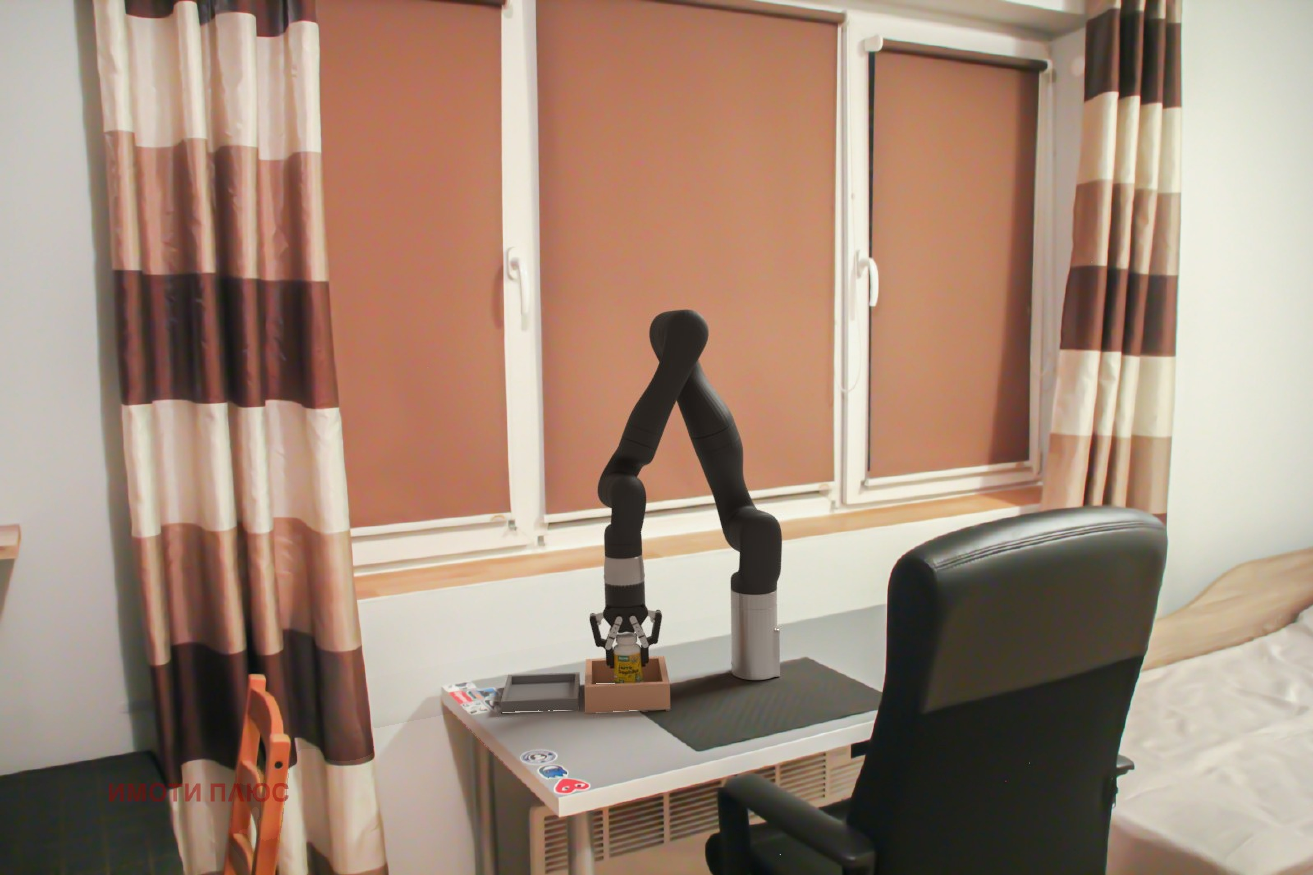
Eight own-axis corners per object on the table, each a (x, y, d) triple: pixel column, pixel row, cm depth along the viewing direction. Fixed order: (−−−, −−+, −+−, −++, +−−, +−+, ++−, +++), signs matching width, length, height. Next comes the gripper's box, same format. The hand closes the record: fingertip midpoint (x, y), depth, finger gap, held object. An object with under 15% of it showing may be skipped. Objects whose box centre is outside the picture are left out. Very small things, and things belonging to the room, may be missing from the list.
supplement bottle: (640, 678, 184) (639, 629, 183) (644, 688, 178) (642, 638, 177) (612, 680, 183) (611, 631, 182) (615, 690, 178) (613, 640, 177)
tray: (580, 683, 188) (579, 672, 188) (578, 710, 174) (578, 698, 174) (508, 686, 188) (508, 675, 187) (501, 713, 174) (500, 701, 173)
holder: (664, 680, 189) (664, 656, 188) (670, 710, 174) (669, 683, 173) (586, 683, 188) (585, 659, 188) (585, 713, 173) (584, 687, 172)
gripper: (661, 572, 183) (664, 658, 185) (586, 575, 182) (589, 661, 184) (664, 581, 175) (666, 671, 177) (585, 585, 175) (589, 675, 176)
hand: (627, 666), depth 180 cm, fingers closed on supplement bottle, 5 cm apart
